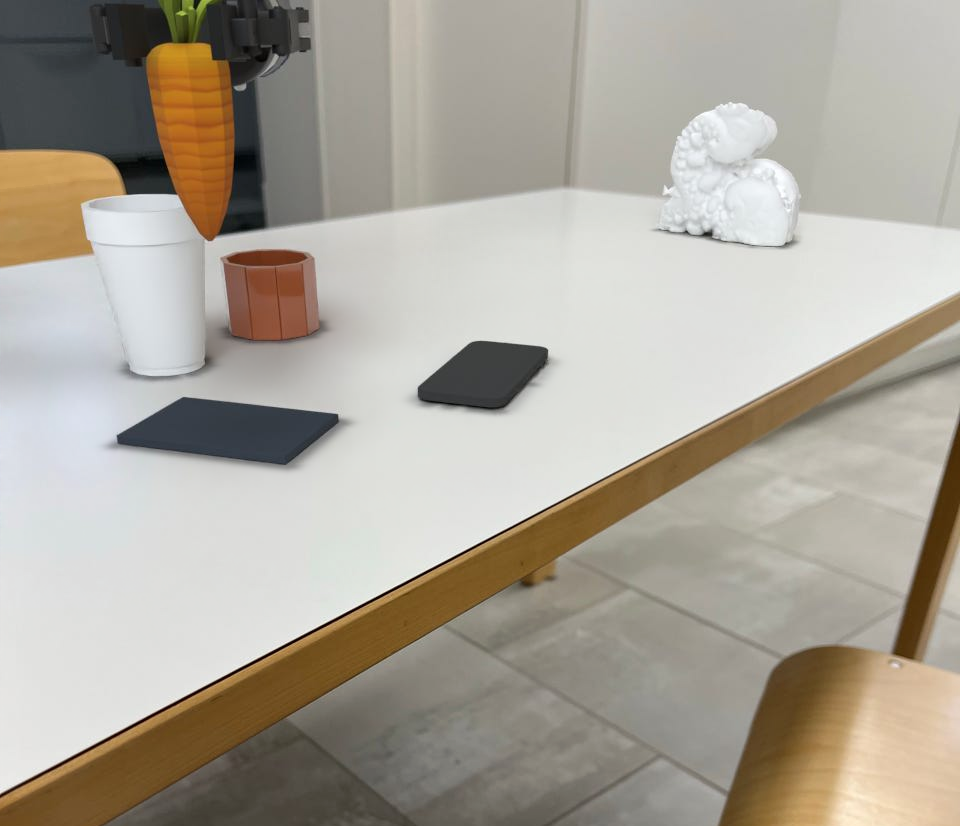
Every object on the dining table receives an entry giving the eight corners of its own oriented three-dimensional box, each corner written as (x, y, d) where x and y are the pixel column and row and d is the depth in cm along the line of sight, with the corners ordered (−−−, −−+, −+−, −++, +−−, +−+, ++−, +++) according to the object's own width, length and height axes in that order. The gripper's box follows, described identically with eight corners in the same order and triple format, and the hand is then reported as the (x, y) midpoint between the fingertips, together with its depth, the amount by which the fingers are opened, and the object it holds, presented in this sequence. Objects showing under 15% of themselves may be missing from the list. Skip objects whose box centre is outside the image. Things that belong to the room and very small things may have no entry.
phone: (412, 390, 80) (472, 339, 92) (412, 400, 80) (472, 348, 92) (502, 400, 78) (552, 347, 90) (502, 411, 78) (551, 356, 91)
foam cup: (90, 364, 88) (59, 202, 81) (185, 344, 94) (164, 190, 87) (146, 389, 82) (117, 217, 76) (244, 366, 88) (225, 204, 81)
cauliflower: (837, 178, 126) (713, 76, 126) (731, 311, 137) (617, 218, 138) (851, 169, 141) (740, 78, 141) (754, 289, 153) (652, 205, 153)
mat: (117, 443, 72) (116, 435, 72) (184, 404, 79) (183, 396, 79) (285, 464, 69) (284, 456, 69) (338, 421, 76) (338, 413, 76)
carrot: (208, 231, 71) (175, -27, 63) (263, 238, 69) (236, -28, 61) (155, 243, 67) (113, -30, 59) (211, 251, 65) (175, -31, 57)
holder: (212, 336, 96) (203, 264, 93) (255, 314, 103) (248, 246, 100) (294, 343, 94) (287, 270, 91) (332, 320, 101) (327, 251, 98)
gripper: (350, 84, 79) (331, 108, 60) (116, 83, 78) (17, 107, 59) (344, -31, 75) (321, -47, 56) (98, -34, 74) (-15, -51, 55)
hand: (166, 32), depth 57 cm, fingers closed on carrot, 5 cm apart
